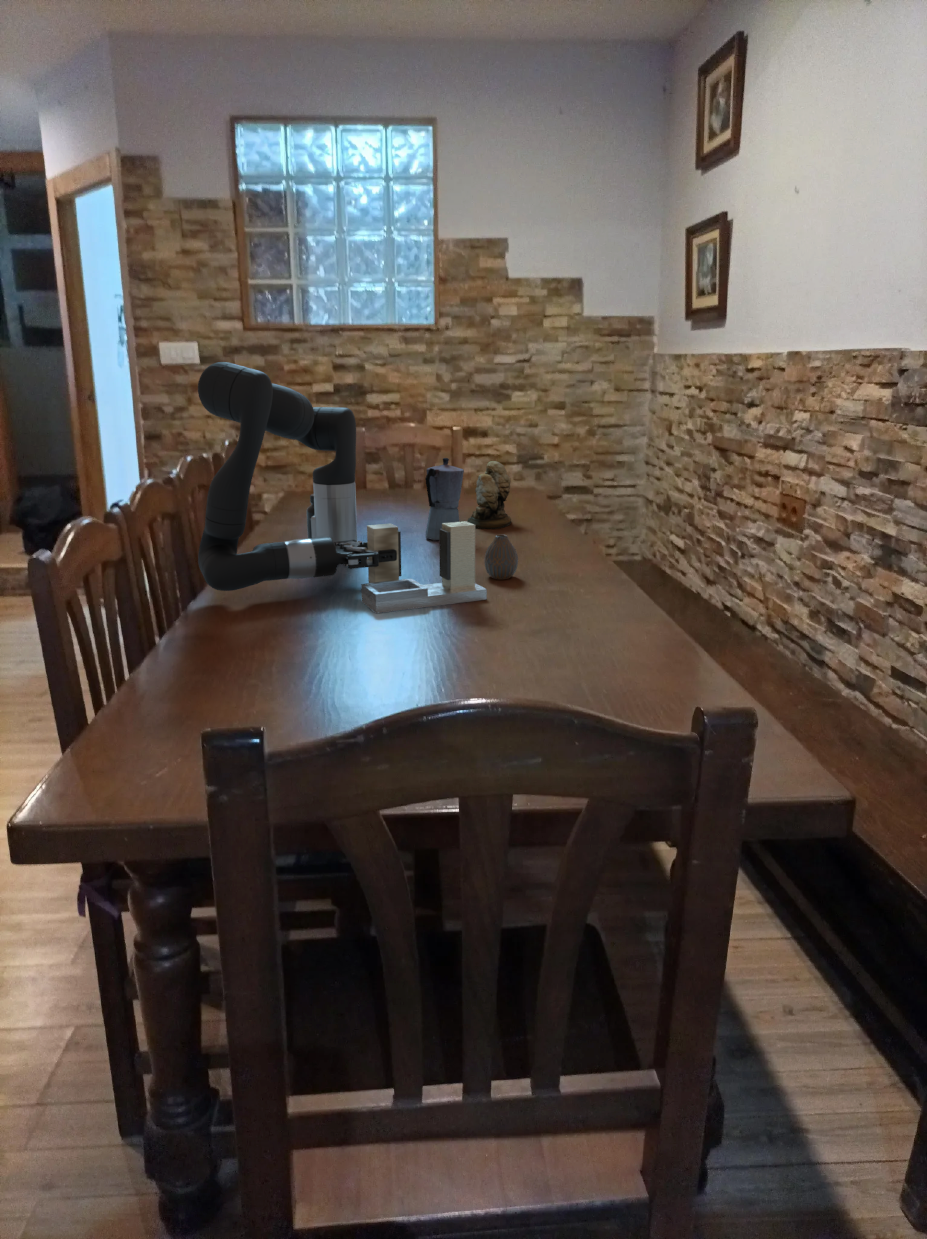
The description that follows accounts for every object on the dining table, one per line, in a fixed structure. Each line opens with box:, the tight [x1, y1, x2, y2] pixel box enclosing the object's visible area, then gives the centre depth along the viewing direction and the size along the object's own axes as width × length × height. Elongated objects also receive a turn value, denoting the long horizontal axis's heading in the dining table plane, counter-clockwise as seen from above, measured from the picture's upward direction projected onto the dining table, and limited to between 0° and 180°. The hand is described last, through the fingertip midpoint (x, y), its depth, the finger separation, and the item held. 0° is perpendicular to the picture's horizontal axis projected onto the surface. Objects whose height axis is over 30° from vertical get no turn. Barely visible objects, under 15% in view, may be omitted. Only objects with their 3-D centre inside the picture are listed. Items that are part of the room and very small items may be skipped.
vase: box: [484, 534, 519, 580], centre depth 178 cm, size 7×7×9 cm
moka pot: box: [424, 457, 465, 541], centre depth 214 cm, size 10×15×20 cm, turn 155°
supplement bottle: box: [306, 493, 315, 538], centre depth 209 cm, size 7×7×12 cm
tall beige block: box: [366, 523, 402, 583], centre depth 171 cm, size 6×4×12 cm
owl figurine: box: [466, 460, 512, 530], centre depth 235 cm, size 18×12×17 cm, turn 169°
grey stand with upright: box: [360, 520, 488, 614], centre depth 160 cm, size 22×8×14 cm, turn 115°
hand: (388, 550), depth 171 cm, fingers open, 8 cm apart
